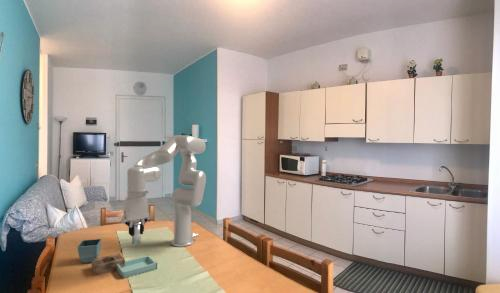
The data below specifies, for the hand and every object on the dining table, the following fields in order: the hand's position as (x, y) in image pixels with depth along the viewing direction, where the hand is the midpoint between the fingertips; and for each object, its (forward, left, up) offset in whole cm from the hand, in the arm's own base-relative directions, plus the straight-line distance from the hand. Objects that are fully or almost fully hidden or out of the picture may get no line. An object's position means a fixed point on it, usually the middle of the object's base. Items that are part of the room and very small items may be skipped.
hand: (136, 234), depth 132 cm
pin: (0, 0, -4) cm, 4 cm away
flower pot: (+15, -23, -17) cm, 32 cm away
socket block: (+10, -9, -16) cm, 21 cm away
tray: (0, 0, -16) cm, 16 cm away
